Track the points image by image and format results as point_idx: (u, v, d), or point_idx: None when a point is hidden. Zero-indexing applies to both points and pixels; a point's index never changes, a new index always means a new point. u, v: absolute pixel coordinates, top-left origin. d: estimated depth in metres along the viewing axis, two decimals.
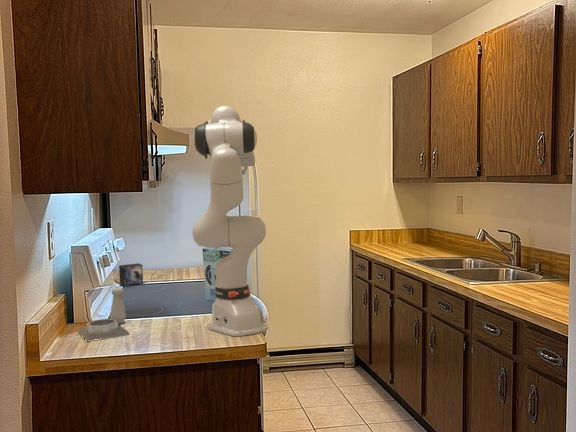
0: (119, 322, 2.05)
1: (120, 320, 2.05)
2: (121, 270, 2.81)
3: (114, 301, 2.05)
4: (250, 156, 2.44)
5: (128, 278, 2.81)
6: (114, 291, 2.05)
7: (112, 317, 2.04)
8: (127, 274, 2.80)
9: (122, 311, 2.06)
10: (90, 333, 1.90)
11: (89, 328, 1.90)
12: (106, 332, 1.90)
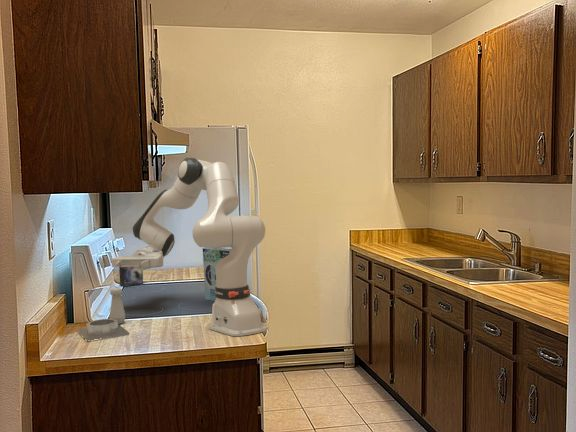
0: (119, 322, 2.05)
1: (120, 320, 2.05)
2: (121, 270, 2.81)
3: (113, 301, 2.05)
4: (158, 255, 2.26)
5: (128, 278, 2.81)
6: (112, 291, 2.05)
7: (112, 317, 2.05)
8: (127, 274, 2.80)
9: (121, 311, 2.06)
10: (90, 333, 1.90)
11: (89, 328, 1.90)
12: (106, 332, 1.90)
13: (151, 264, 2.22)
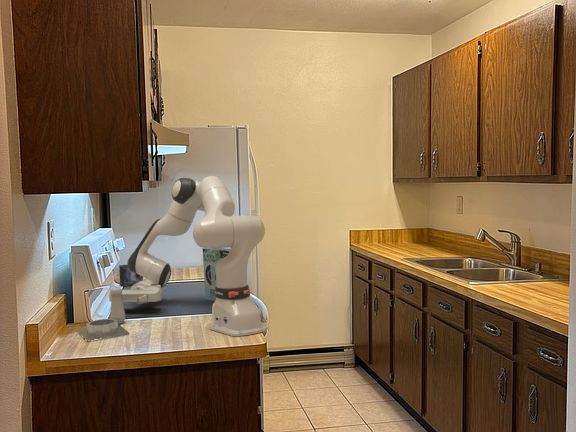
0: (119, 322, 2.05)
1: (120, 320, 2.05)
2: (121, 270, 2.81)
3: (113, 301, 2.05)
4: (156, 289, 2.23)
5: (128, 278, 2.81)
6: (112, 291, 2.05)
7: (112, 317, 2.05)
8: (127, 274, 2.80)
9: (121, 311, 2.06)
10: (90, 333, 1.90)
11: (89, 328, 1.90)
12: (106, 332, 1.90)
13: (149, 299, 2.19)
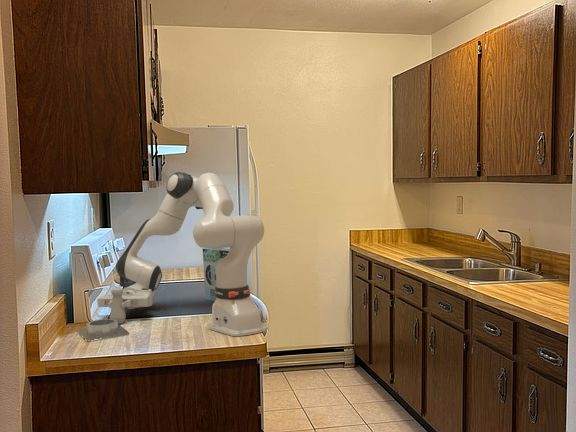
0: (119, 322, 2.05)
1: (120, 320, 2.05)
2: None
3: (114, 301, 2.05)
4: (146, 293, 2.14)
5: None
6: (113, 291, 2.05)
7: (112, 317, 2.05)
8: None
9: (122, 311, 2.06)
10: (90, 333, 1.90)
11: (89, 328, 1.90)
12: (106, 332, 1.90)
13: (139, 304, 2.09)
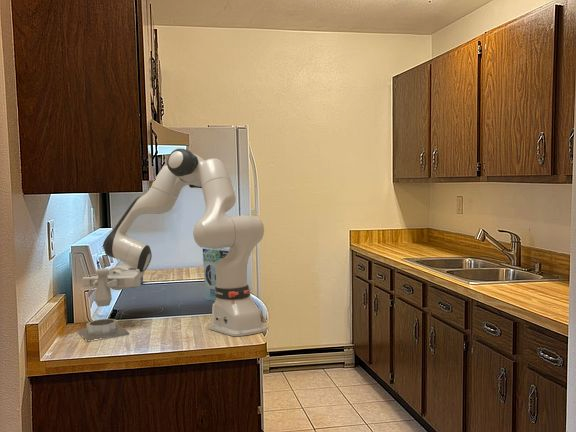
0: (104, 304, 1.94)
1: (105, 302, 1.94)
2: None
3: (99, 282, 1.94)
4: (134, 273, 2.03)
5: None
6: (98, 271, 1.94)
7: (97, 299, 1.93)
8: None
9: (107, 293, 1.94)
10: (90, 333, 1.90)
11: (89, 328, 1.90)
12: (106, 332, 1.90)
13: (126, 284, 1.98)
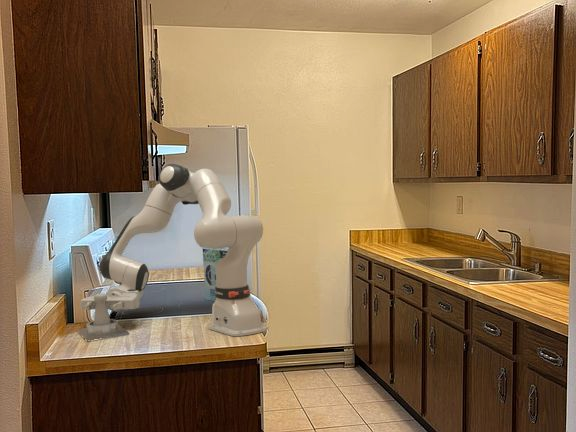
0: None
1: None
2: None
3: (97, 308, 1.92)
4: (133, 295, 2.01)
5: None
6: (96, 297, 1.92)
7: (95, 325, 1.92)
8: None
9: (106, 318, 1.93)
10: (90, 333, 1.90)
11: (89, 328, 1.90)
12: (106, 332, 1.90)
13: (125, 306, 1.97)
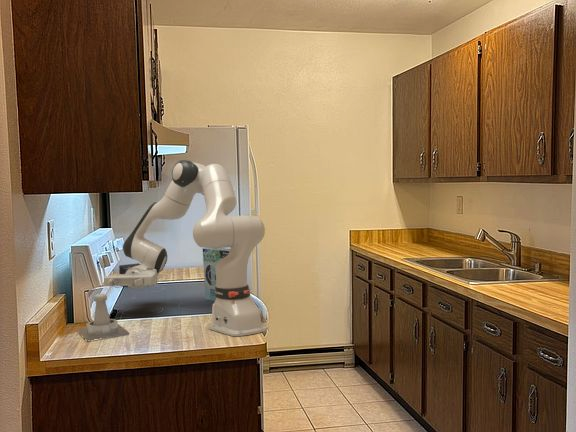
0: None
1: None
2: (121, 270, 2.81)
3: (97, 308, 1.92)
4: (152, 273, 2.18)
5: None
6: (96, 298, 1.92)
7: (95, 325, 1.92)
8: None
9: (106, 319, 1.93)
10: (90, 333, 1.90)
11: (89, 328, 1.90)
12: (106, 332, 1.90)
13: (145, 282, 2.13)
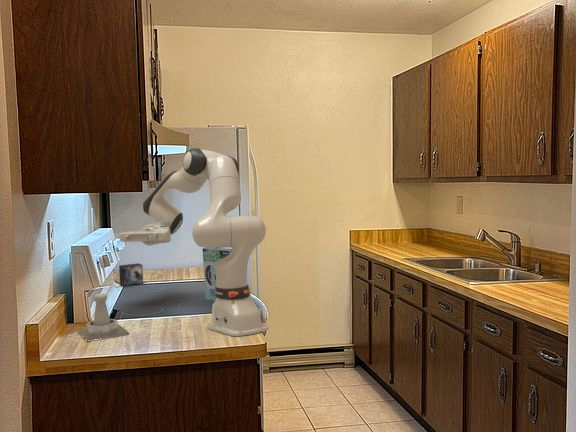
0: None
1: None
2: (121, 270, 2.81)
3: (97, 308, 1.92)
4: (165, 230, 2.30)
5: (128, 278, 2.81)
6: (96, 298, 1.92)
7: (95, 325, 1.92)
8: (127, 274, 2.80)
9: (106, 319, 1.93)
10: (90, 333, 1.90)
11: (89, 328, 1.90)
12: (106, 332, 1.90)
13: (159, 238, 2.25)
